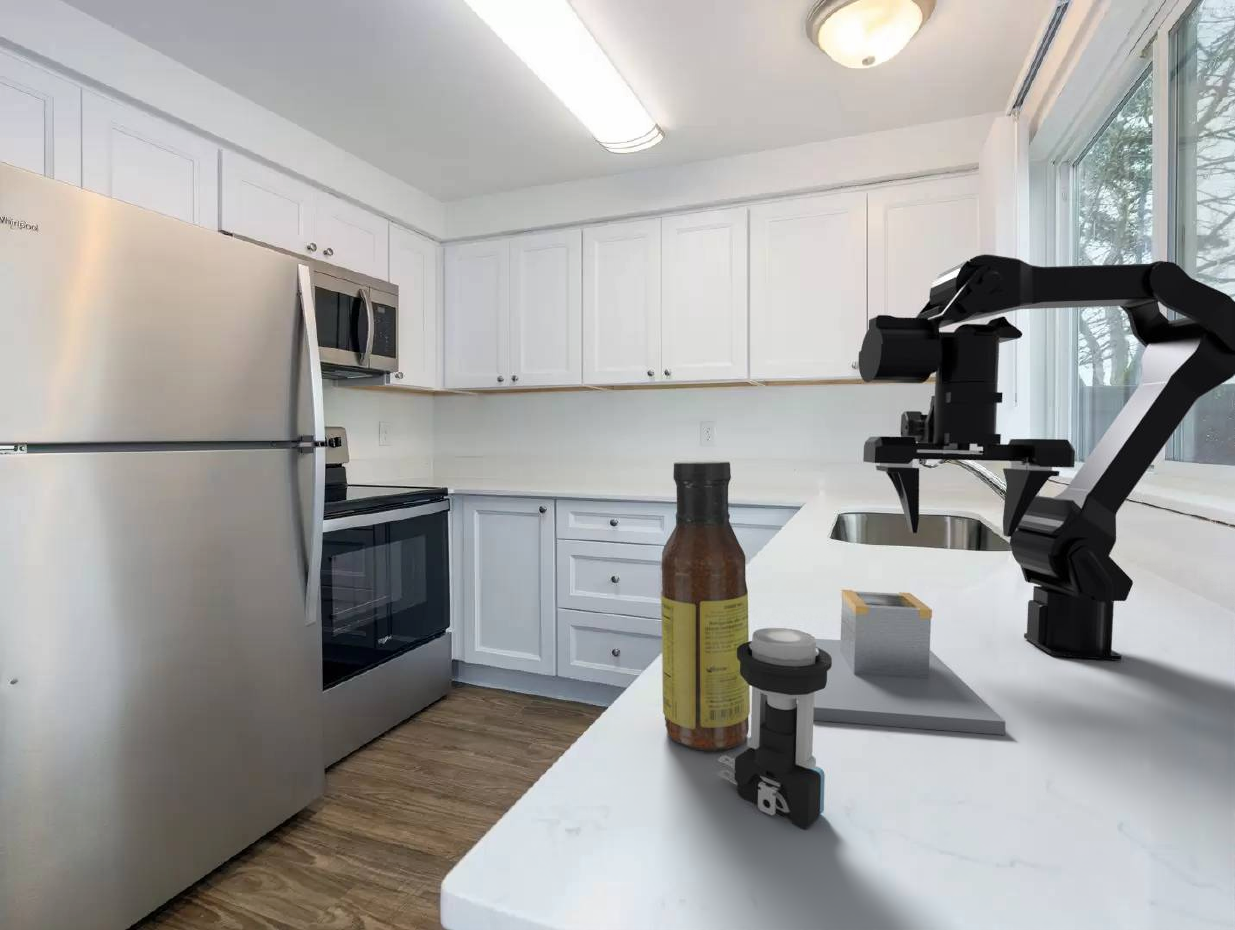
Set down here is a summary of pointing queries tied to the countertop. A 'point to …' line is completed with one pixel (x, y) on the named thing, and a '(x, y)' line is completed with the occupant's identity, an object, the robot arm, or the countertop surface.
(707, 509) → the sauce bottle
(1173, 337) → the robot arm
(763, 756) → the push button
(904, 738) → the countertop surface
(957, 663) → the countertop surface
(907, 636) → the open cube shelf
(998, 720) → the panel
